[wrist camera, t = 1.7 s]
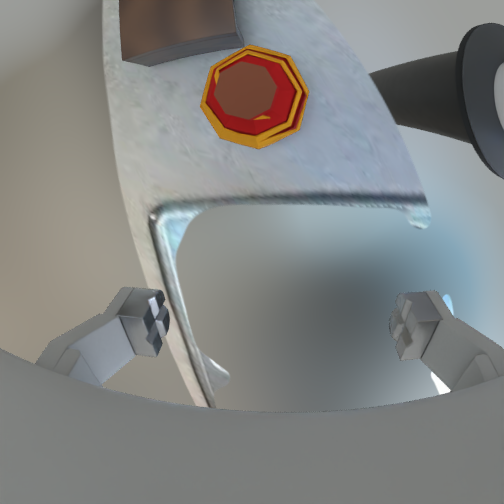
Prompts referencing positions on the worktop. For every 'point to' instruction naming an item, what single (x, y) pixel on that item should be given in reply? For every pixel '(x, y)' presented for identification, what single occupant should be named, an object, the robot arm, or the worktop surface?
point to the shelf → (176, 29)
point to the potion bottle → (255, 97)
